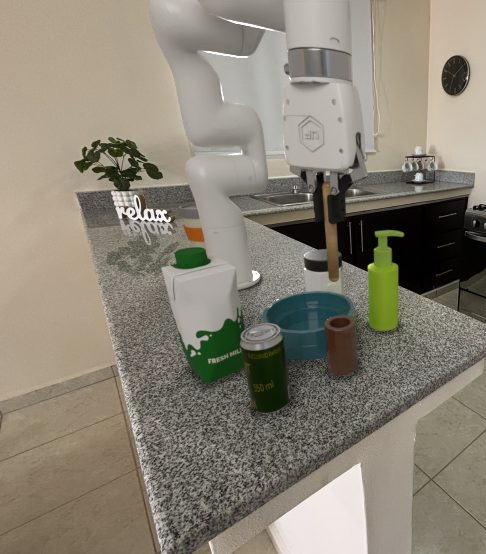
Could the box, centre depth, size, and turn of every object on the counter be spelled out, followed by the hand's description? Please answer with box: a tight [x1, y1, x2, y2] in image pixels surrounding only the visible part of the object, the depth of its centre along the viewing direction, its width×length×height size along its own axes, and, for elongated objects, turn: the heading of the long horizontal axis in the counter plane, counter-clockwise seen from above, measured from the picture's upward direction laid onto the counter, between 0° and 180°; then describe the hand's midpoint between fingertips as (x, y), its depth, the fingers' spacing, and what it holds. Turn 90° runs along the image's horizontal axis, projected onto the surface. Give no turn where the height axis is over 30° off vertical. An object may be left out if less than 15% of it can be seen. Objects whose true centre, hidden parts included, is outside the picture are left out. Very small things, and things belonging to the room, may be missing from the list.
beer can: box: [240, 323, 292, 415], centre depth 49 cm, size 5×5×12 cm
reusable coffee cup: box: [178, 202, 208, 257], centre depth 111 cm, size 13×13×15 cm
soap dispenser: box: [367, 229, 405, 332], centre depth 68 cm, size 6×7×20 cm
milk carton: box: [160, 246, 246, 385], centre depth 54 cm, size 9×9×20 cm
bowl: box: [260, 291, 356, 361], centre depth 66 cm, size 17×17×6 cm
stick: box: [322, 180, 339, 282], centre depth 50 cm, size 2×2×15 cm
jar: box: [303, 248, 346, 296], centre depth 79 cm, size 9×8×12 cm
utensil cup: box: [324, 315, 358, 377], centre depth 57 cm, size 5×5×9 cm
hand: (330, 220), depth 50 cm, fingers closed on stick, 1 cm apart
